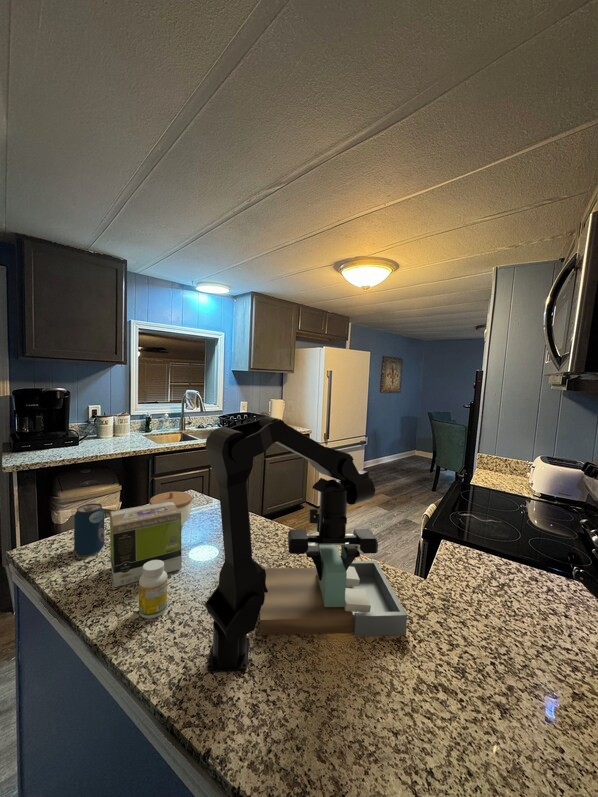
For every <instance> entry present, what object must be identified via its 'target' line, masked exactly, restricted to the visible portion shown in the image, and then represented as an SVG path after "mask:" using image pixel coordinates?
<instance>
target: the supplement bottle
mask: <svg viewBox="0 0 598 797" xmlns="http://www.w3.org/2000/svg"><path fill="white" fill-rule="evenodd" d="M167 608H168V573H166V572H165V571H164V562H163V561H161V560H152V561H149V562H147V563H145V564H144V565H143V575H142V576H141V577H140V579H139V581H138V613H139V616H140V617H142V618H144V619H155V618H157V617H159V616H161V615H162V614H164V613H165V611H166V610H167Z"/></svg>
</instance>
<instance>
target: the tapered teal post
mask: <svg viewBox="0 0 598 797" xmlns="http://www.w3.org/2000/svg"><path fill="white" fill-rule="evenodd" d="M319 551H320V554H321V568H322V578H321V580H319V577H318V580H319V584H320V589H321V593H322V598H323V602H324V607H344V606H345V592H346V577H347V572H346V570H345V567H344V564H343V562H342V559H341V553H340V551H339V549H338V545H319ZM317 576H318V573H317Z"/></svg>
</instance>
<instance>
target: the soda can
mask: <svg viewBox="0 0 598 797" xmlns="http://www.w3.org/2000/svg"><path fill="white" fill-rule="evenodd" d="M73 526H74V527H73V541H74V542H73V545H74V546H73V550H74V552H75V553H76V554H77V556H81V557H87V556H89V557H90V556H93V555H95V554H97V553H99V552H101V550H103V547H104V545H105V510H104V508H103V506H102V504H100V503H87V504H84V505H81V506H78V507H76V512H75V513H74V514H73Z"/></svg>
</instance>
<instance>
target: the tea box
mask: <svg viewBox="0 0 598 797" xmlns="http://www.w3.org/2000/svg"><path fill="white" fill-rule="evenodd" d="M109 527H110V528H109V531H110V532H109V536H110V541H109V542H110V547H109V548H110V549H109V552H110V567H111V573H112V582H113V587H114V588H118V587H121V586H124V585H128V584H132V583H135V582H139V579H140V577H141V576H142V575H143V565H144V564H145V563H147V562H149V561H152V560H161V561H163V562H164V571H165V572H166V573H167V574H168V573H170V572H175V571H179V570H181V569H182V566H183V565H182V563H183V562H182V527H181V513H180V511H179V510H178V509H177V507H176V506H175V504H174V503H173V501H166V502H161V503H155V504H150V503H149V504H145V505H139V506H135V507H134V506H133V507H129V508H123V509H118V510H117V509H116V510H111V511H109Z"/></svg>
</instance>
